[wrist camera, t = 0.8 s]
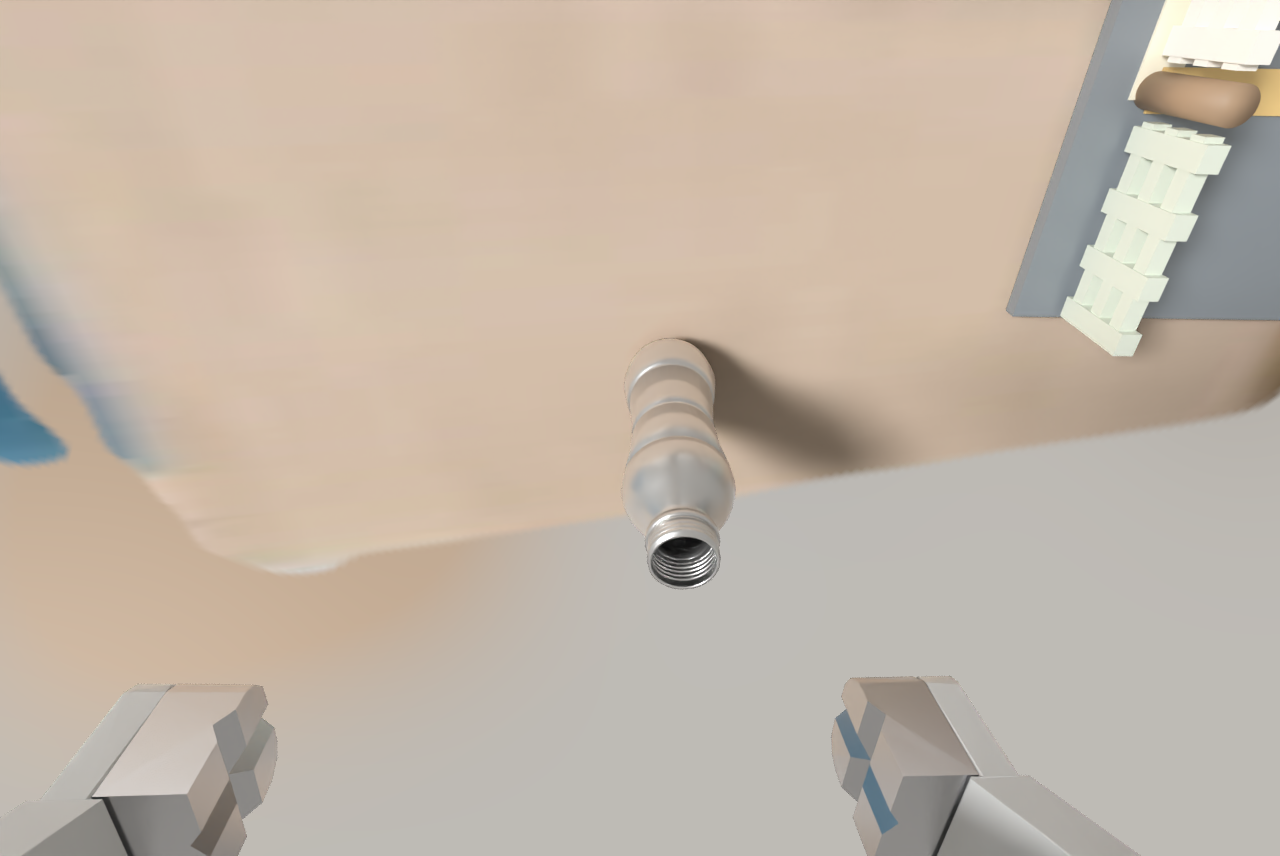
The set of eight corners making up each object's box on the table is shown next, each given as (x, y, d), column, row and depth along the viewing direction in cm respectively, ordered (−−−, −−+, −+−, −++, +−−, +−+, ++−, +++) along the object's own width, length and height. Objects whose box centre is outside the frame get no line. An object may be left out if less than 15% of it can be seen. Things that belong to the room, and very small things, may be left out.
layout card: (1195, -246, 31) (1213, -253, 30) (1592, -236, 31) (1622, -244, 30) (1005, 310, 46) (1013, 317, 46) (1273, 314, 47) (1287, 321, 46)
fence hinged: (1136, 120, 38) (1210, 139, 33) (1156, 120, 38) (1234, 139, 33) (1059, 315, 45) (1112, 355, 40) (1077, 315, 45) (1132, 356, 40)
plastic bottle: (629, 411, 51) (625, 615, 34) (619, 331, 47) (609, 515, 31) (713, 404, 51) (751, 606, 34) (710, 323, 47) (750, 504, 30)
